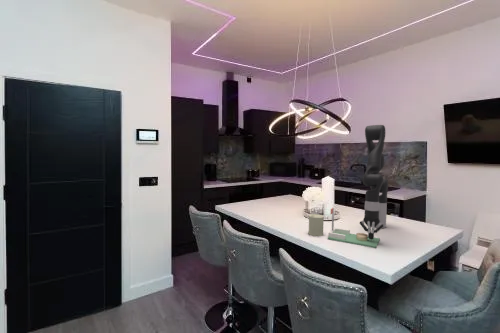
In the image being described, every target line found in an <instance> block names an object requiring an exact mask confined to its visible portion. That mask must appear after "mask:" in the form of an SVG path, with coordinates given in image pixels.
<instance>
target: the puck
mask: <svg viewBox="0 0 500 333" xmlns="http://www.w3.org/2000/svg"><path fill="white" fill-rule="evenodd" d="M356 239H357V240H359V241H367V240H368V234H367V233H365V232H357V233H356Z"/></svg>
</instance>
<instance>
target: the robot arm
mask: <svg viewBox="0 0 500 333" xmlns="http://www.w3.org/2000/svg"><path fill="white" fill-rule="evenodd" d="M364 135H365V137H364V138H365V142H366V146H367V162H366V164H367V165H366V169H365V172H364V175H363V178H362V184H363V185H364V186H365V187H370V189H369V190H366V192H365V202H364V217H363V220H360V221H359V225H360V226H361V228H362V229H363V231H365V232H367V233H368V234H367V235H368V238H369V239H371V240H372V239H373V238H374V237H375V234H377V233H378V232H379V231H380V230H382V229H386V227H387V208H388V207H387V205H388V191H389V181H388V179H386V178H384V177H383V175H382V174H380V172H381V171H382V170H383V168H384V167H385V157H384V154H383V149H384V146H385V140H386V127H385V125H384V124H373V125H367V126H365V129H364ZM374 141H378V142H377V143H376V145H375V143H374ZM380 193H381V194H380ZM375 228H376V229H375Z"/></svg>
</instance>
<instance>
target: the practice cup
mask: <svg viewBox="0 0 500 333" xmlns="http://www.w3.org/2000/svg"><path fill="white" fill-rule="evenodd" d="M330 215H331V230H330V231H328V232H327V233H328V235H327V238H328V237H331V238H337V239H342V240H345V236H346V235H343V234H348V235H349V234H351V233H350V231H351V230H350V229H346V228H345V229H344V228H338V227H334V225H335V223H334V220H335V219H334V218H335V207H332V208H331V209H330ZM337 233H342V234H337Z"/></svg>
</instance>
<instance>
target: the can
mask: <svg viewBox="0 0 500 333" xmlns="http://www.w3.org/2000/svg"><path fill="white" fill-rule="evenodd" d="M324 218H325V216H324V215H323V214H314V213H313V214H309V215H308V233H307V234H308V235H309V236H312V237H323V236H324Z"/></svg>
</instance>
